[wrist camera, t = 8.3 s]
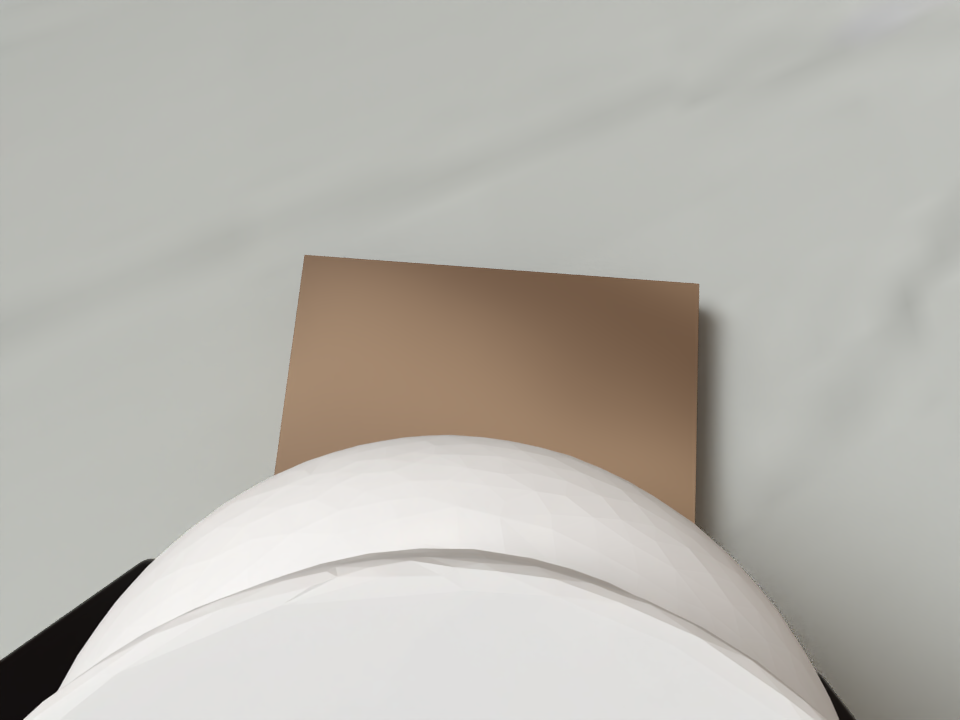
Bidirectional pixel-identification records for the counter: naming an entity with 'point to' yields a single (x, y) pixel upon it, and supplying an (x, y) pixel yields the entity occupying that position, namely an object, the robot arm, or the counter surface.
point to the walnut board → (497, 365)
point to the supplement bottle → (442, 603)
